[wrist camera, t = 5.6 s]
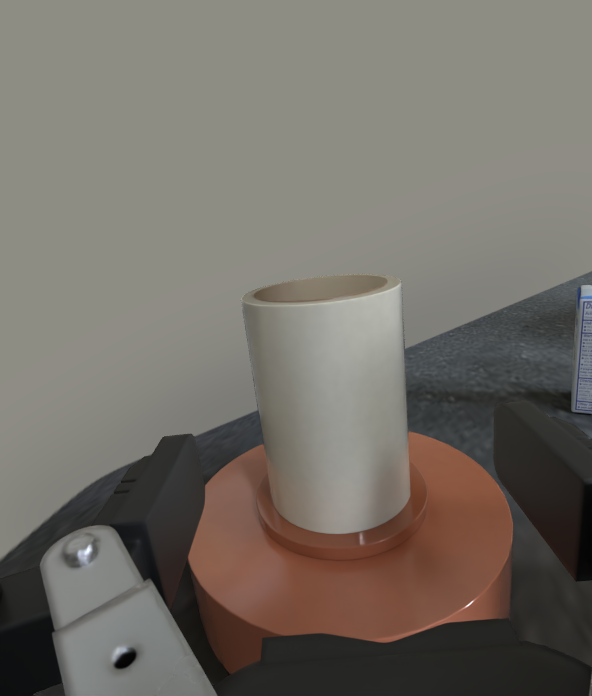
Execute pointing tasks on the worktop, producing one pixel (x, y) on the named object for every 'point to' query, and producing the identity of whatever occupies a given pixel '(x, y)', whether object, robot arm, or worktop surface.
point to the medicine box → (582, 353)
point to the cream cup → (332, 398)
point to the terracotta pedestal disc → (351, 559)
